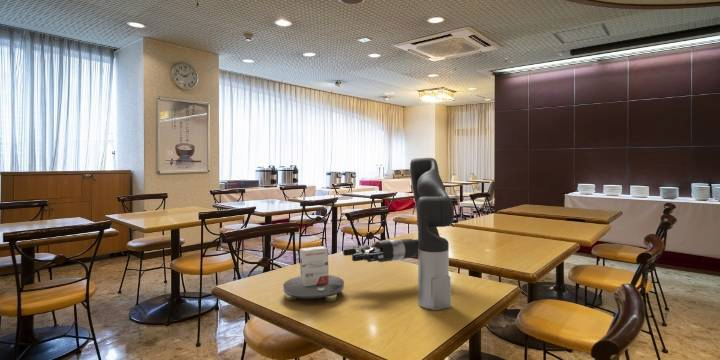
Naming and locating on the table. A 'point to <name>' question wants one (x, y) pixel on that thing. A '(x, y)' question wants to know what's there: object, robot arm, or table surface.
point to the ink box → (314, 266)
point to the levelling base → (313, 289)
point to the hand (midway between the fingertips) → (347, 255)
